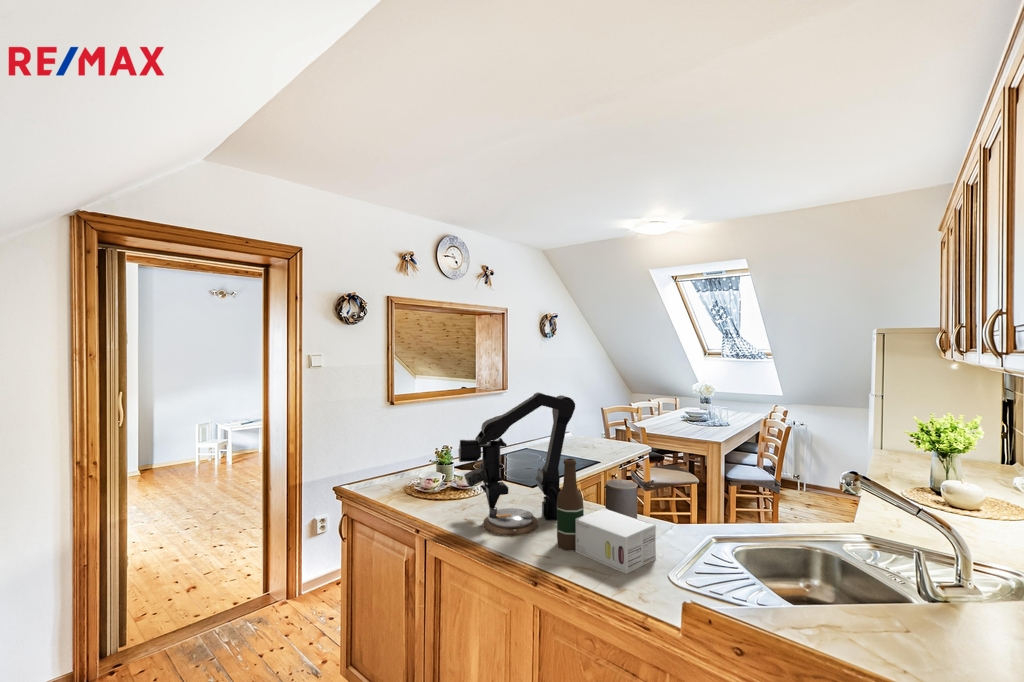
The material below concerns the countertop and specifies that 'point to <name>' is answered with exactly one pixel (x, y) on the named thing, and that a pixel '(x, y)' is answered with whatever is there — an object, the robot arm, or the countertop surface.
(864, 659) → the countertop surface
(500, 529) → the stand
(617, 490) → the pillar candle
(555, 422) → the robot arm
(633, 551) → the supplement box
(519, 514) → the dial
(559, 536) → the beer bottle
